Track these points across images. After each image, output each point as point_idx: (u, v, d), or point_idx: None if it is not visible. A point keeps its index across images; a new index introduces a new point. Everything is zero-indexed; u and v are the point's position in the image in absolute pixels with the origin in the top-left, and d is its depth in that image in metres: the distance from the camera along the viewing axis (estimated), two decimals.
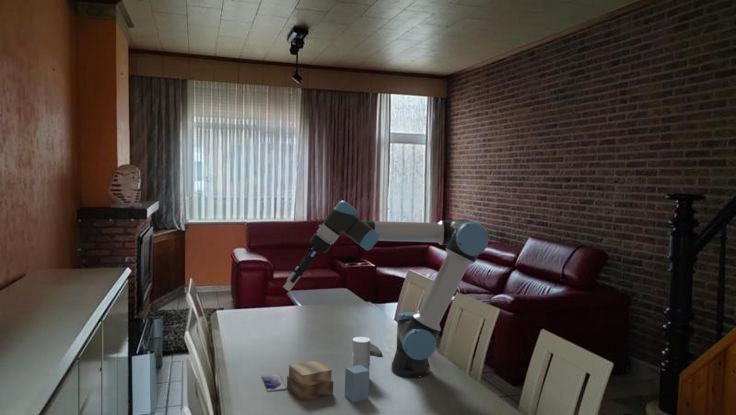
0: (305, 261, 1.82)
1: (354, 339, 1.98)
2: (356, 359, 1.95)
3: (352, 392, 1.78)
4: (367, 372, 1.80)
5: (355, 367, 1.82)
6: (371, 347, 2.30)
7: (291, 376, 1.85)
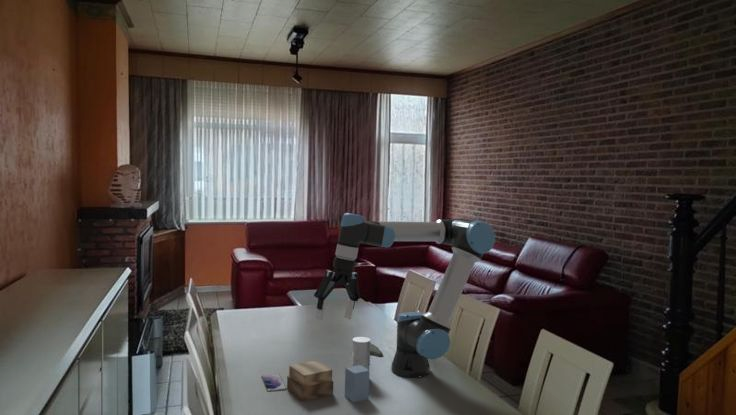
0: (322, 283, 1.76)
1: (354, 339, 1.98)
2: (356, 359, 1.95)
3: (352, 392, 1.78)
4: (367, 372, 1.80)
5: (355, 367, 1.82)
6: (371, 347, 2.30)
7: (292, 377, 1.84)
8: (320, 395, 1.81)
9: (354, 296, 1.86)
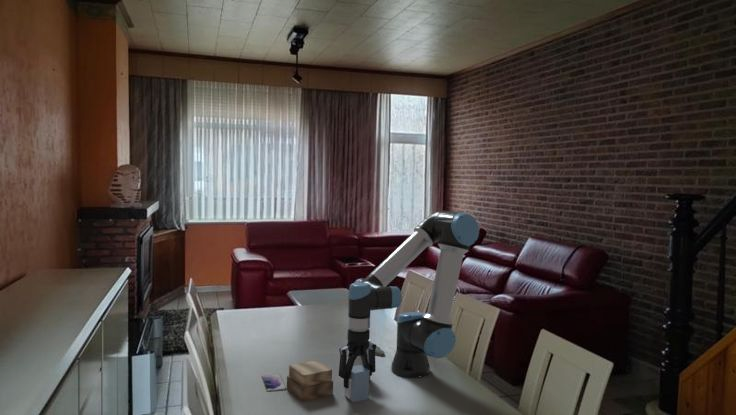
0: (340, 362, 1.78)
1: None
2: (356, 359, 1.95)
3: (352, 392, 1.78)
4: (367, 372, 1.80)
5: (355, 367, 1.82)
6: None
7: (292, 377, 1.84)
8: (320, 395, 1.81)
9: None
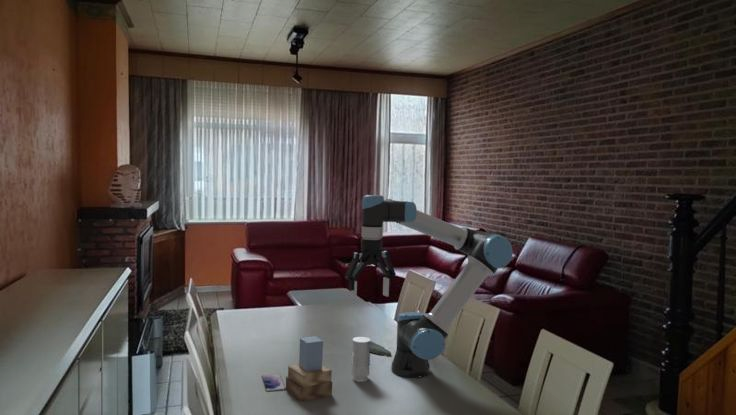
0: (350, 265, 1.85)
1: (354, 339, 1.98)
2: (356, 359, 1.95)
3: (305, 361, 1.81)
4: (320, 342, 1.83)
5: (309, 338, 1.85)
6: (378, 347, 2.31)
7: (291, 377, 1.84)
8: (319, 396, 1.80)
9: (388, 274, 1.91)
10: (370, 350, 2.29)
